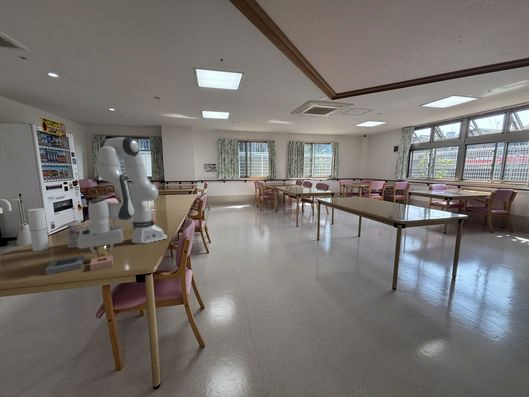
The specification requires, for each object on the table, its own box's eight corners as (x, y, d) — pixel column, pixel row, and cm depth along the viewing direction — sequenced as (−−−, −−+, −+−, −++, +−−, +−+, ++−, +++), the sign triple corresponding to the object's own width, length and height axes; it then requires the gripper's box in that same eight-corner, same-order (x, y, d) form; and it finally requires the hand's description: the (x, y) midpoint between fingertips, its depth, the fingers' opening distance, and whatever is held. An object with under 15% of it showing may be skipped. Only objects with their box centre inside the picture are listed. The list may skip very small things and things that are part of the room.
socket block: (84, 259, 121) (84, 255, 121) (81, 268, 110) (81, 263, 110) (52, 264, 114) (52, 260, 113) (46, 274, 103) (45, 269, 103)
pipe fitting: (109, 256, 125) (108, 243, 124) (109, 260, 120) (108, 246, 119) (97, 258, 122) (95, 245, 121) (96, 262, 117) (94, 248, 116)
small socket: (113, 260, 120) (112, 255, 119) (112, 266, 112) (112, 260, 112) (92, 264, 115) (91, 258, 114) (90, 270, 107) (90, 264, 107)
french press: (90, 242, 149) (87, 206, 146) (74, 248, 137) (70, 209, 134) (77, 242, 150) (73, 206, 147) (60, 248, 138) (55, 209, 135)
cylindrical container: (30, 251, 132) (25, 210, 129) (35, 247, 138) (30, 208, 135) (46, 249, 135) (41, 209, 132) (50, 246, 141) (46, 208, 138)
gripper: (123, 224, 127) (124, 247, 129) (77, 229, 116) (79, 254, 118) (123, 227, 122) (125, 250, 124) (75, 232, 111) (78, 258, 112)
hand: (102, 252), depth 121 cm, fingers open, 5 cm apart
